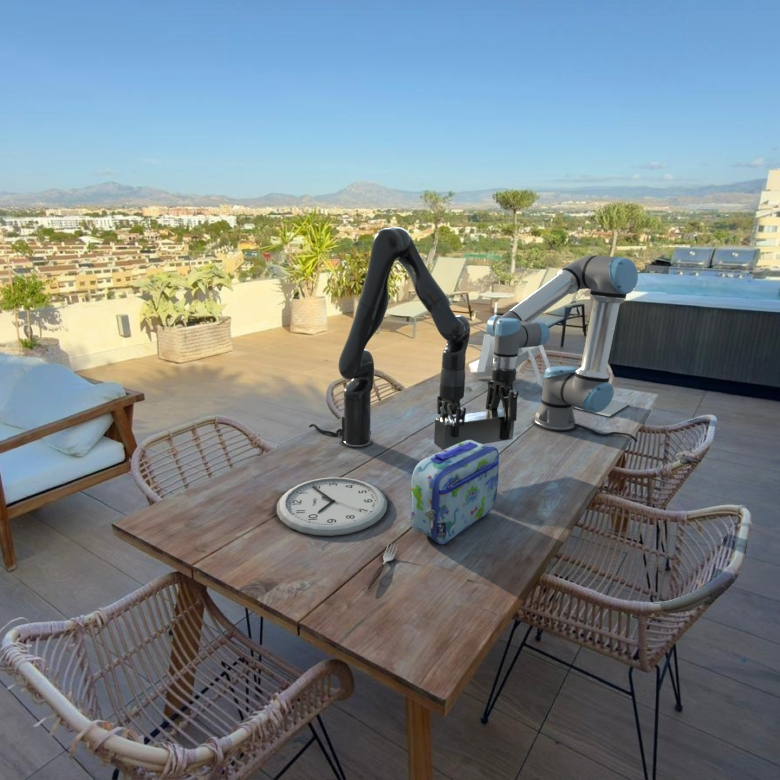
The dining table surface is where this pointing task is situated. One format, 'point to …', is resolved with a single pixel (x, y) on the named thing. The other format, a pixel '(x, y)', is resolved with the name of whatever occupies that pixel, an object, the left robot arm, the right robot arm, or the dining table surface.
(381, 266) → the left robot arm
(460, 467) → the lunch box
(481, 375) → the white plastic object
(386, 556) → the fork
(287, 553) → the dining table surface
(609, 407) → the invitation card
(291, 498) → the wall clock
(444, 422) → the box
